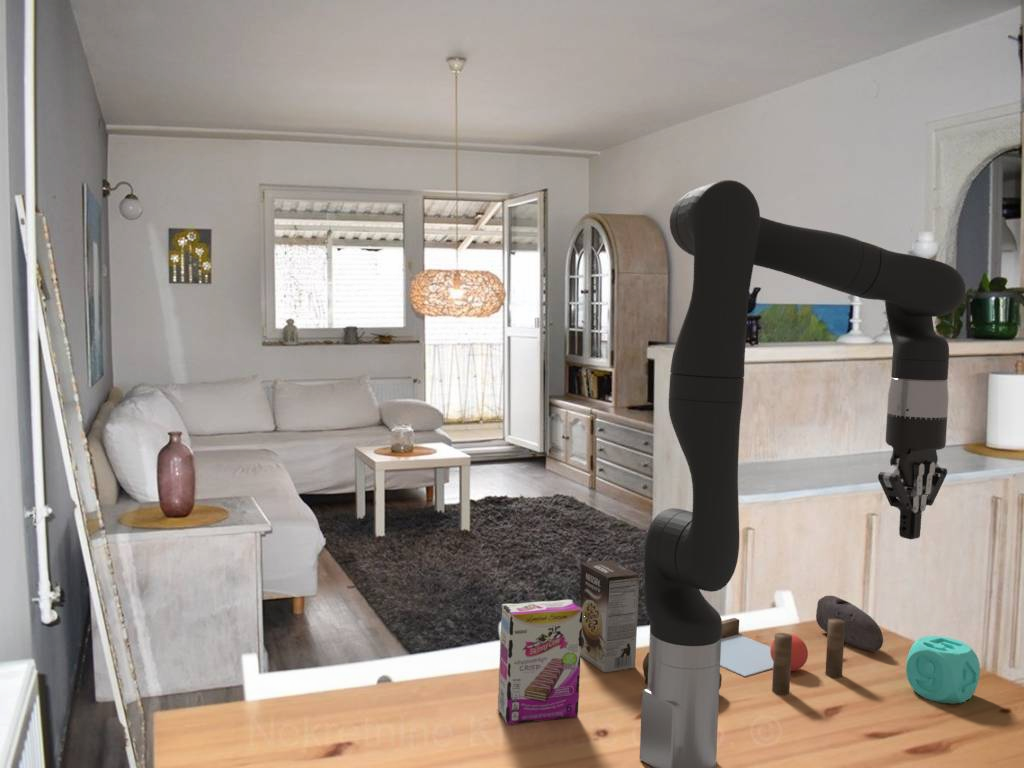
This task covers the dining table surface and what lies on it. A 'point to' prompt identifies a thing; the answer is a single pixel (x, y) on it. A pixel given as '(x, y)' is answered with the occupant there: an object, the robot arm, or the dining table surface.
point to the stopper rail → (730, 627)
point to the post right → (835, 648)
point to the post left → (782, 663)
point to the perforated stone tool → (850, 623)
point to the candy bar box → (539, 661)
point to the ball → (795, 653)
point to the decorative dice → (942, 669)
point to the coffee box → (609, 615)
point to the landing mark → (745, 655)
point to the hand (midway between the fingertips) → (909, 537)
